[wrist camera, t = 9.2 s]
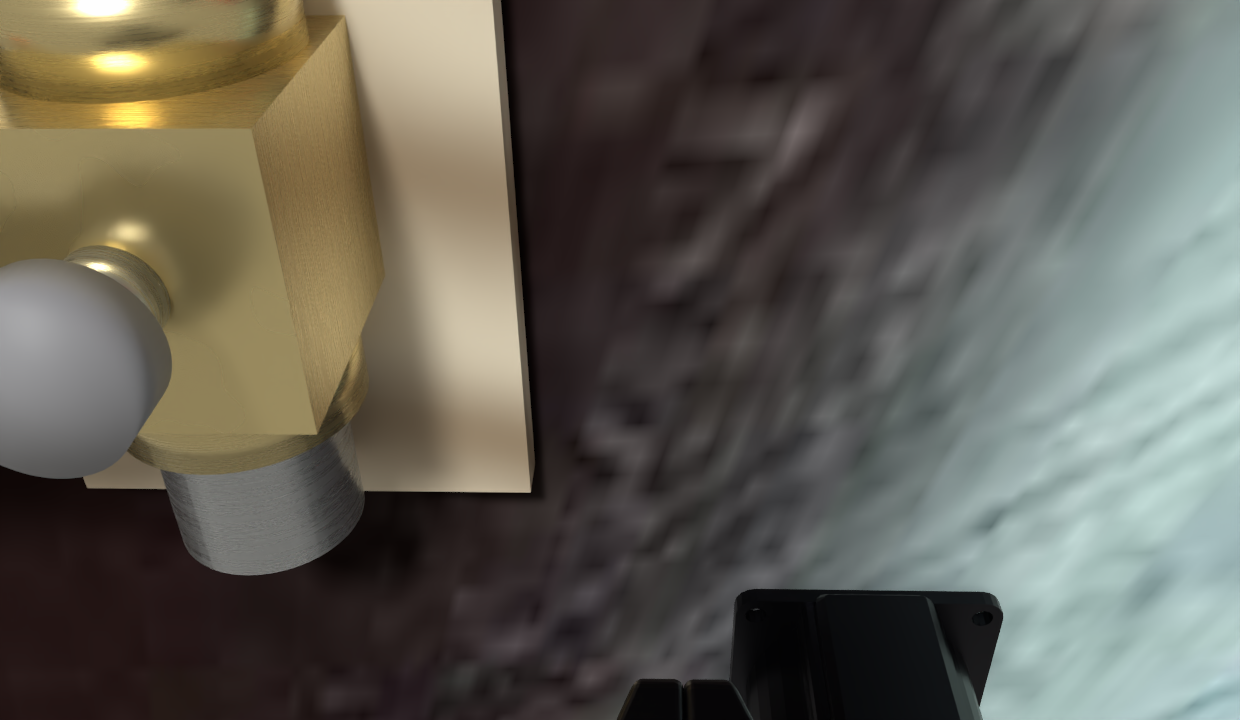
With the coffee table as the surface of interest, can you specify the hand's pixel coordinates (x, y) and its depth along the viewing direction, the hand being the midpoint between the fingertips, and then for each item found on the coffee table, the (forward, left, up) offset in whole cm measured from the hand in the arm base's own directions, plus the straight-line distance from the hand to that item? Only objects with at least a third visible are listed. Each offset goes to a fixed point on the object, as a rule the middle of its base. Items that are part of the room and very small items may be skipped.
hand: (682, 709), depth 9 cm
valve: (0, +8, -13) cm, 15 cm away
